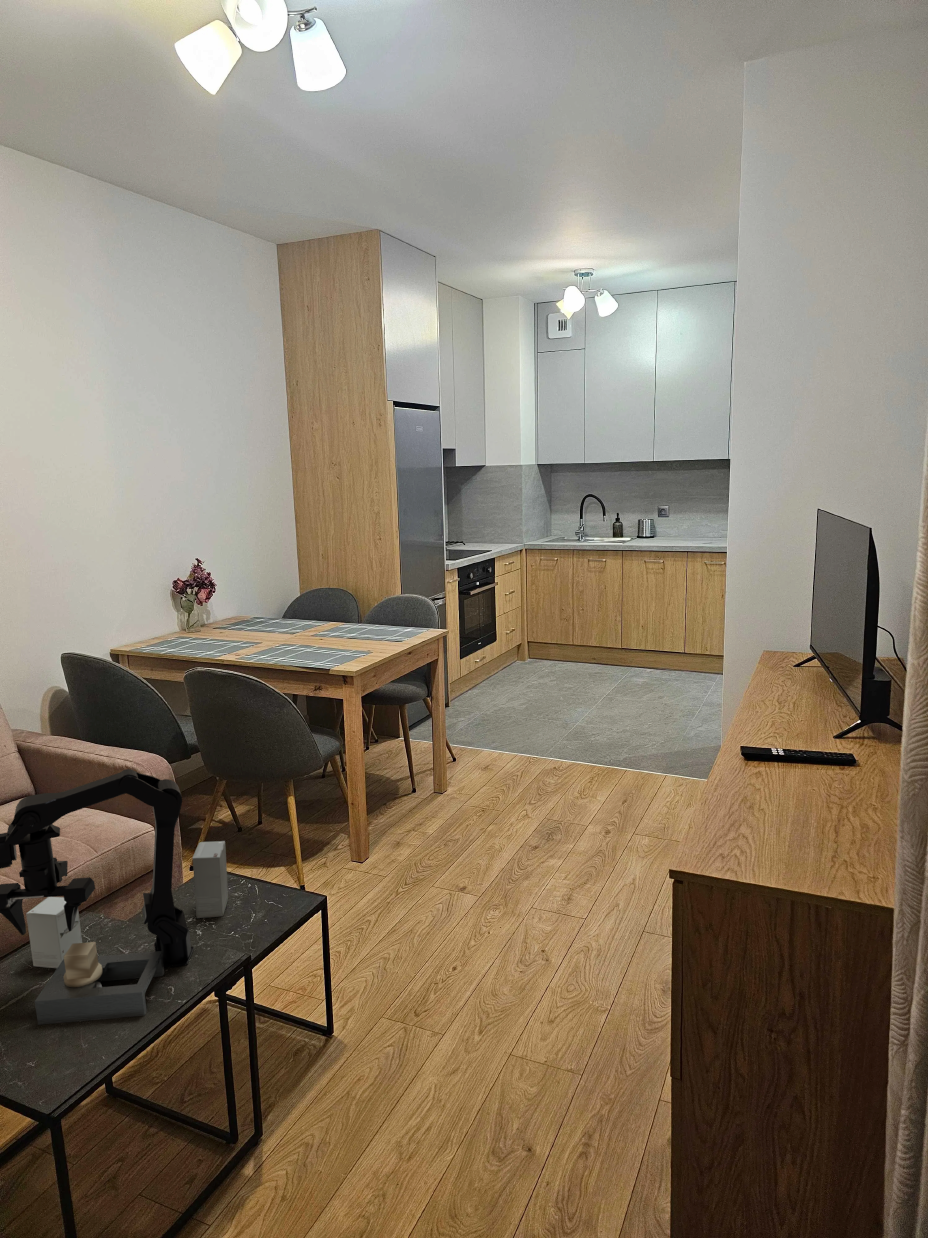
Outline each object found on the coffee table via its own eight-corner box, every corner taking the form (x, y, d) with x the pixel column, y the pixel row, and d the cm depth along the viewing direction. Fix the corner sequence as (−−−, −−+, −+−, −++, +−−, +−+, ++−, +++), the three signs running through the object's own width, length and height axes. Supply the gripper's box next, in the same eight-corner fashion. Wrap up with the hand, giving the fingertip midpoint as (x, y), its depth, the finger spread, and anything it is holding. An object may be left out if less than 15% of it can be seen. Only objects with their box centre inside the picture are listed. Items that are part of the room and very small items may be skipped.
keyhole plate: (164, 972, 174) (161, 951, 173) (144, 1015, 160) (141, 992, 159) (66, 981, 172) (63, 959, 172) (38, 1025, 159) (34, 1001, 158)
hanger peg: (110, 985, 170) (104, 938, 168) (97, 1006, 163) (91, 958, 161) (75, 987, 169) (68, 941, 167) (61, 1009, 162) (54, 961, 160)
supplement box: (62, 969, 177) (55, 915, 174) (32, 967, 178) (24, 913, 176) (84, 950, 184) (77, 897, 181) (55, 947, 185) (48, 895, 183)
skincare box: (202, 902, 203) (196, 841, 200) (232, 899, 203) (226, 838, 201) (195, 920, 194) (188, 857, 192) (226, 917, 195) (219, 854, 192)
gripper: (99, 839, 173) (108, 908, 176) (7, 846, 172) (17, 915, 174) (79, 863, 162) (89, 936, 165) (-20, 871, 161) (-8, 944, 163)
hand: (47, 932), depth 167 cm, fingers open, 9 cm apart
